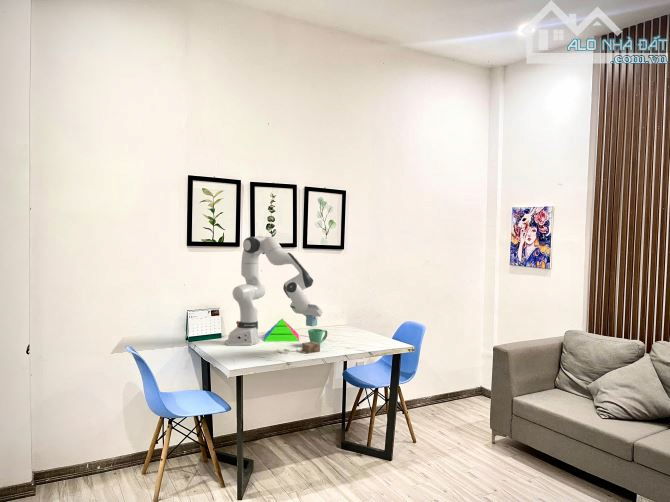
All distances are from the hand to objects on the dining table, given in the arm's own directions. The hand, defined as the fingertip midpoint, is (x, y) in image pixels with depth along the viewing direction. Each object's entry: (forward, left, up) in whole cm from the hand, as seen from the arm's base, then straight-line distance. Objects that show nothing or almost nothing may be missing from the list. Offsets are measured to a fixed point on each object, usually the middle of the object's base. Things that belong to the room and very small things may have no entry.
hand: (312, 317), depth 296 cm
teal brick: (0, 0, -5) cm, 5 cm away
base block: (0, 0, -21) cm, 21 cm away
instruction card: (-15, +4, -21) cm, 26 cm away
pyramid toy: (-13, +41, -22) cm, 48 cm away
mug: (+8, +15, -21) cm, 27 cm away
